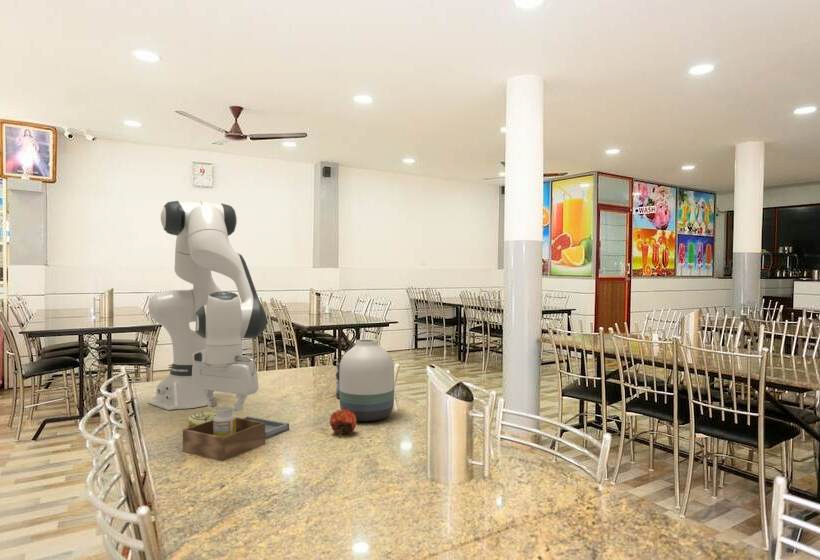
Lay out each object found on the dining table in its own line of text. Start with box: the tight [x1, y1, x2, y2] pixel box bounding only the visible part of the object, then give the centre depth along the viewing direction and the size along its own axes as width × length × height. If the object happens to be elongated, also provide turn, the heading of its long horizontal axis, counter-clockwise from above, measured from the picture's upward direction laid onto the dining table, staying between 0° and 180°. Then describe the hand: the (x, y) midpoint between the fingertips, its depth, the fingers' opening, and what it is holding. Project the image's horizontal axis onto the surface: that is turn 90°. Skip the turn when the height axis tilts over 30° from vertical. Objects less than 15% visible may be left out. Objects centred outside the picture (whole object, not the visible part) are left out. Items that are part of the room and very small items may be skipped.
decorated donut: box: [187, 410, 216, 428], centre depth 152 cm, size 10×11×4 cm
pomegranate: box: [329, 408, 357, 440], centre depth 144 cm, size 7×7×10 cm
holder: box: [182, 417, 266, 462], centre depth 134 cm, size 14×14×6 cm
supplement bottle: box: [213, 405, 237, 437], centre depth 134 cm, size 6×6×10 cm
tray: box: [242, 416, 290, 440], centre depth 148 cm, size 16×10×2 cm, turn 62°
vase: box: [339, 338, 395, 422], centre depth 161 cm, size 17×17×24 cm
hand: (225, 408), depth 133 cm, fingers open, 8 cm apart
